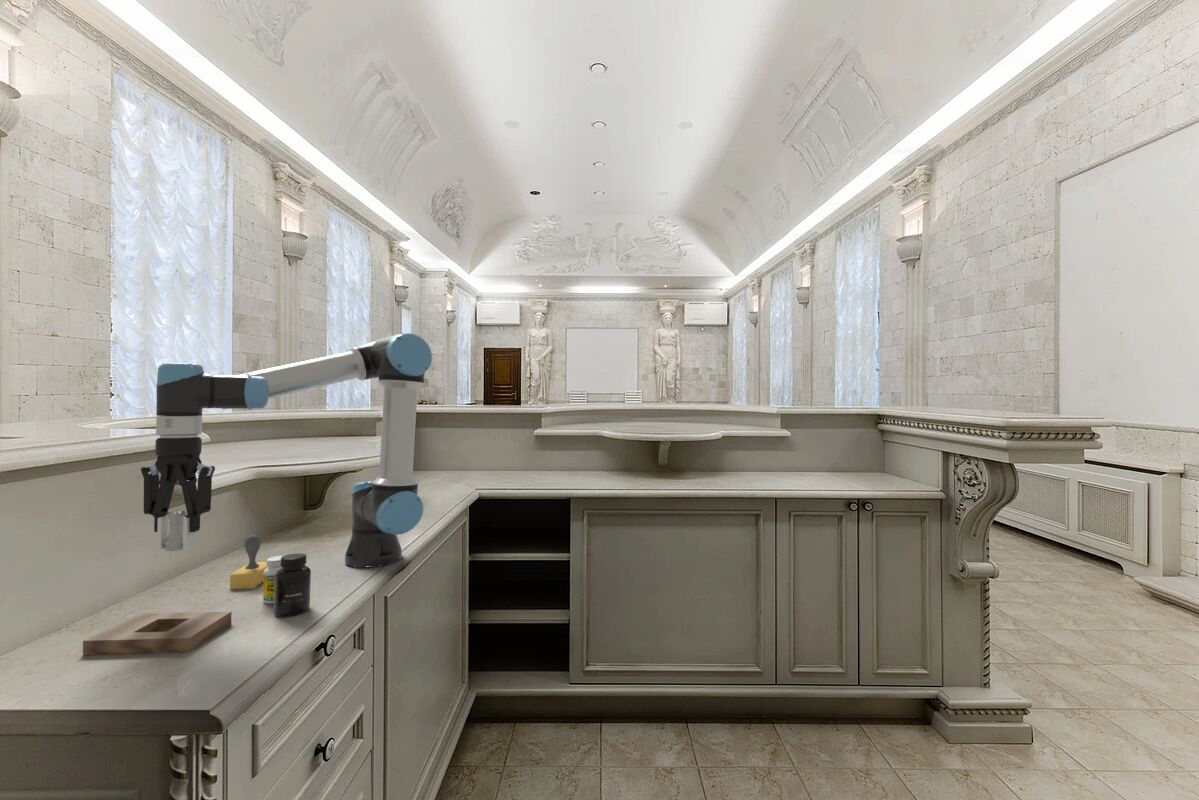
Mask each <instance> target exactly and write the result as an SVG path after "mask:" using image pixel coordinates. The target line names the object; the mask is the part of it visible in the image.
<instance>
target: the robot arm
mask: <svg viewBox="0 0 1199 800" xmlns="http://www.w3.org/2000/svg"><path fill="white" fill-rule="evenodd" d="M432 361H433V353H432V349H431V347H430V346H429V344H428V342H427V341H426V340H424V338H422V337H421V336H419V335H417V334H416V333H415V334H414V333H409V332H408V333H407V332H404V333H402V332H400V333H399V332H398V333H396V334H394V335H390V336H385V337H383V338H379V339H377V340H374V341H372V342H369V343H366V344H365V343H364V344H363V345H358V346H354V347H351V348H350V349H349V351H348V352H347V351H346V352H342V353H338V354H332V355H328V356H323V357H319V358H313V359H308V360H305V361H299V362H294V363H288V364H284V365H280V366H278V365H277V366H274V367H269V368H268V367H267V368H264V369H259V370H254V371H250V372H245V373H240V374H210V373H205V371H204V367H203V365H201V364H198V363H186V362H185V363H184V362H165V363H164V362H163V363H161V365H159V366H158V368H157V377H156V408H155V409H156V413H155V414H156V420H155V421H156V422H155V425H156V426H155V435H157V436H159V437H156V439H155V449H154V450H155V451H154V452H155V455H156V456H157V458H156V460H155V462H154V464H152V465H148V466H142V467H141V468H140V472H141V474H142V477H143V514H145V515H151V516H152V517H153V519H154V523H153V525H154V527H153V531H154V533H156V534H157V537H156V550H164V549H163V548H164V547H165V545H164V542H165V541H166V540H167V537H168V535H169V531H170V524H169V523H170V518H169V517H168V515H169V514H170V511H169V509H170V506H171V501H172V498H173V494H174V490H175V486H176V485H177V484H178V485H179V486H181V491H182V495H183V496H182V497H183V500H184V504H185V508H186V509H185V510H186V513H187V515H186V516H185V518H183V549H184V550H187V549H188V550H189V549H191V548H193V547H196V546H197V532H198V531H200V529H201V516H202V515H204V514H205V513H209V512H210V511H211V509H212V506H211V505H212V486H213V485H212V483H213V480H212V479H213V476H214V473H215V470H216V467H215V465H206V464H203V462H202V460H201V458H200V455H201V453H202V444H203V443H202V442H203V441H202V439H203V438H201V437H200V436H199V435H202V433H203V409H223V410H229V409H235V410H237V409H240V410H241V409H242V410H243V409H248V410H253V409H264V408H266V406H267V405H268V402H269V399H274V398H279V397H282V396H283V397H284V396H287V395H292V394H295V393H299V392H303V391H308V390H312V389H318V388H321V387H324V386H329V385H333V384H337V383H342V382H346V381H350V380H355V379H357V380H359V381H366V380H371V379H378V382H379V384H380V385H381V386H382V387H383V388H384V389H383V401H382V402H383V403H382V404H383V405H382V419H381V420H382V421H381V434H380V435H381V437H380V439H381V440H380V442H381V443H380V450H379V451H380V452H379V466H378V467H379V469H378V470H379V471H378V476H377V477H376V478H375V479H374V480H369V481H362V482H361V481H360V482H356V483H354V484H353V487H352V493H351V498H352V499H351V502H352V505H351V507H352V508H351V511H352V512H351V513H352V515H351V537H350V540H349V543H348V545H347V548H346V551H345V555H344V564H345V563H346V564H347V565H346V564H345V565H346V566H348V565H350V566H349V567H351V566H356V567H355V568H367V567H366V566H376V567H380V566H379V565H382V566H386V565H385V564H387V565H390V564H393V562H394V563H396V562H399V560H401V559H402V557H403V552H402V551H403V550H402V547H401V543H400V541H399V538H398V536H399V535H403V534H407V533H408V532H411V531H412V530H413V529H414V528H416V526H417V525H418V524H419V523H420V521H421V520H422V517H423V513H424V503H423V501H422V498H421V497H420V495H418V491H419V490H418V488H419V481H417V479H416V478H415V477H414V475H413V474H414V473H413V472H414V471H413V470H414V455H415V439H416V437H415V436H416V422H417V421H416V420H417V405H418V390H419V389H420V388H421V387H423V385H424V384H425V373H426V372H427V371H428V370H429V369H430V367H431V365H432ZM159 474H160V475H159ZM196 474H197V475H198V477H197V475H196ZM389 563H390V564H389Z"/></svg>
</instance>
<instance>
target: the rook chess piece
mask: <svg viewBox="0 0 1199 800" xmlns="http://www.w3.org/2000/svg"><path fill="white" fill-rule="evenodd" d="M169 512H170V514H167V515H168V517H169V518H170V523H169V524H170V531H169V535H168V537H167V540H166V541H165V542H164V545H165V547H164V548H163V549H162V550H164V551H166V552H176V551H177V552H178V551H183V550H185V549H183V518H185V516H186V515H187V510H186V509H177V510H175V509H173V510H170V511H169Z"/></svg>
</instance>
